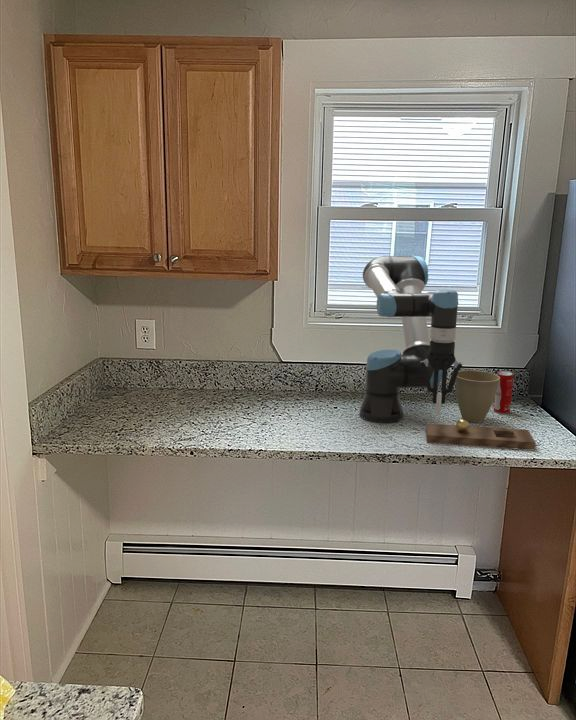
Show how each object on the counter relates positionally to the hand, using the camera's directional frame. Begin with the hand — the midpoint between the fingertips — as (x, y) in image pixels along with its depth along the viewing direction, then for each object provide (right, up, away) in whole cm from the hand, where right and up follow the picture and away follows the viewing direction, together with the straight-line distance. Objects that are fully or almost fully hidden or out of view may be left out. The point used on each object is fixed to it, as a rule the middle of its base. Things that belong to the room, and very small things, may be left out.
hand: (437, 413), depth 184 cm
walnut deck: (+13, -9, 0) cm, 15 cm away
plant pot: (+17, -4, +19) cm, 26 cm away
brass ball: (+8, -4, 0) cm, 9 cm away
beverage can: (+30, -2, +27) cm, 40 cm away
